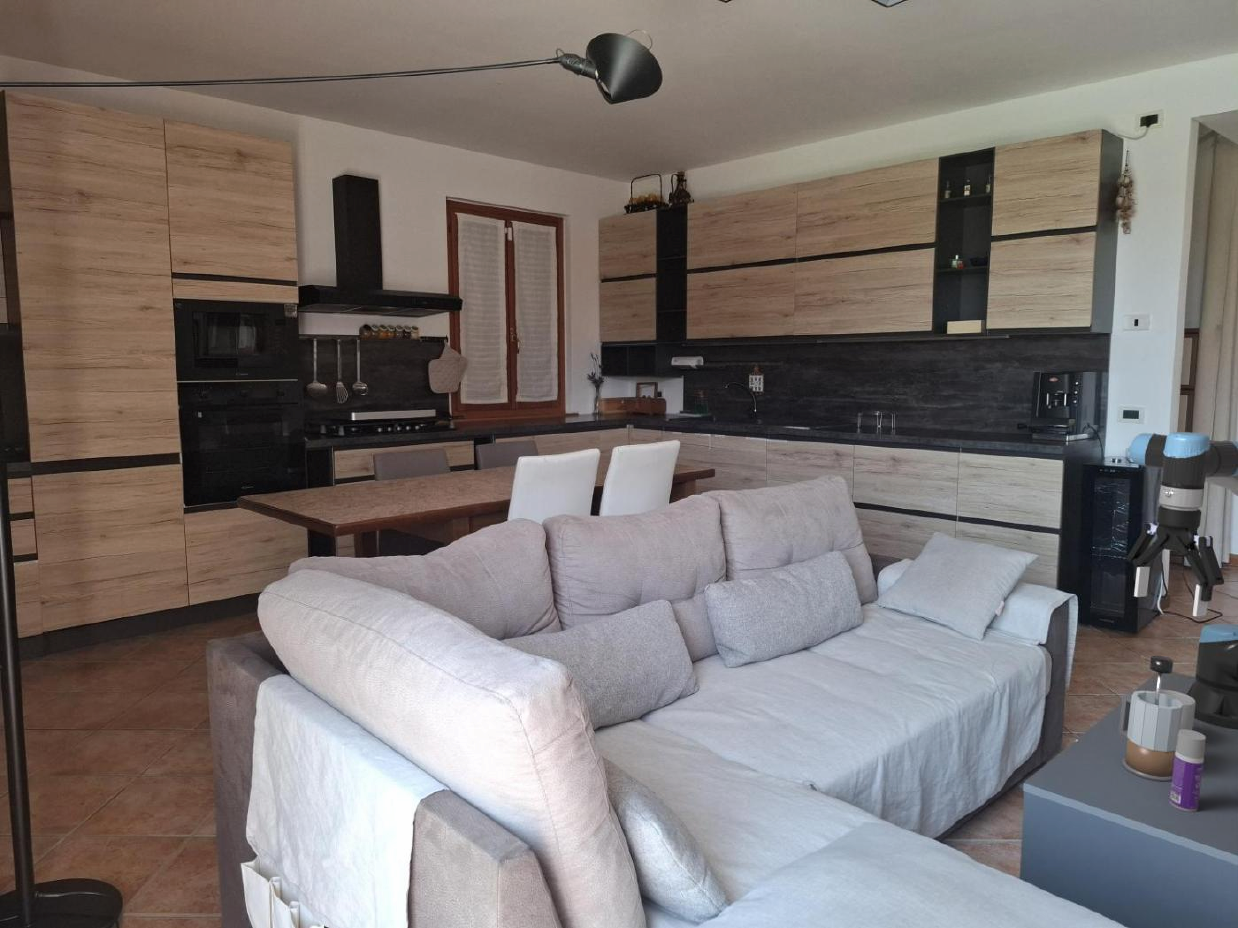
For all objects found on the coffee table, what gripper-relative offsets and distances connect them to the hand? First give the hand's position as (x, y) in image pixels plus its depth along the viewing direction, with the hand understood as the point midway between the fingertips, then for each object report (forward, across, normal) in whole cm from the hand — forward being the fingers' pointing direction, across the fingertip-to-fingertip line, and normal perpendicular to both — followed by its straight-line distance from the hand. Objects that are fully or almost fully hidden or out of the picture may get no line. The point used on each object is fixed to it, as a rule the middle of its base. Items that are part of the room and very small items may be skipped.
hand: (1168, 605), depth 176 cm
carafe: (+36, 0, -2) cm, 36 cm away
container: (+36, +14, -8) cm, 40 cm away
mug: (+37, -9, +16) cm, 41 cm away
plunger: (+29, +1, -1) cm, 29 cm away
